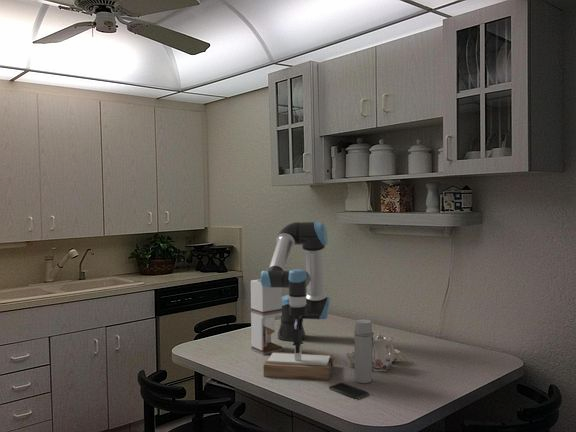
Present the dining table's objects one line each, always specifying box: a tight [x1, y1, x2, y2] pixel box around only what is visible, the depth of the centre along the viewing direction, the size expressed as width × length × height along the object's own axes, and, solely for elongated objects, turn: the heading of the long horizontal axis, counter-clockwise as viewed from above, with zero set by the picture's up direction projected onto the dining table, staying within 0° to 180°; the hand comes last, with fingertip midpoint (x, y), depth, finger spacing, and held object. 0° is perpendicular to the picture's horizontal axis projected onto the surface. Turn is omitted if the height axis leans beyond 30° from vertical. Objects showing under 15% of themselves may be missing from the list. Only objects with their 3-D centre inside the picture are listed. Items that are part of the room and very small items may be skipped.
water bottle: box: [353, 319, 376, 384], centre depth 213 cm, size 9×8×25 cm
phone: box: [328, 382, 370, 400], centre depth 202 cm, size 8×1×15 cm
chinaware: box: [344, 332, 404, 372], centre depth 231 cm, size 28×17×17 cm, turn 112°
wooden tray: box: [263, 351, 334, 381], centre depth 226 cm, size 18×28×5 cm, turn 79°
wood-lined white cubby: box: [250, 278, 283, 356], centre depth 256 cm, size 11×11×35 cm
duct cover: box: [266, 352, 330, 366], centre depth 225 cm, size 11×26×1 cm, turn 79°
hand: (298, 359), depth 223 cm, fingers closed
